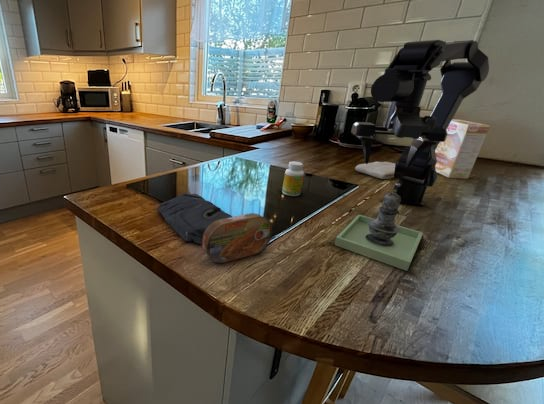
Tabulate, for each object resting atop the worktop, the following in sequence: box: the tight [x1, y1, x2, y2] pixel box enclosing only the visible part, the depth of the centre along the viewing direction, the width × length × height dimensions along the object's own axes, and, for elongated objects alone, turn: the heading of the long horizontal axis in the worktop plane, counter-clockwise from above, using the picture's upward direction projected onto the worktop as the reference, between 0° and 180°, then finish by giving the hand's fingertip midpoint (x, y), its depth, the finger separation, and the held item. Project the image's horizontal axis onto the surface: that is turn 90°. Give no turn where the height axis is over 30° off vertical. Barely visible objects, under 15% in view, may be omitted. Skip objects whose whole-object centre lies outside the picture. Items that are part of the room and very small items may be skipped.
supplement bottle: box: [281, 161, 305, 197], centre depth 91 cm, size 5×5×10 cm
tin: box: [201, 212, 273, 264], centre depth 59 cm, size 15×3×8 cm, turn 114°
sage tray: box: [334, 214, 424, 272], centre depth 65 cm, size 16×13×2 cm
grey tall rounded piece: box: [366, 189, 401, 247], centre depth 63 cm, size 6×6×12 cm
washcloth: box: [354, 161, 396, 180], centre depth 113 cm, size 12×18×3 cm, turn 114°
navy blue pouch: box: [156, 193, 233, 246], centre depth 73 cm, size 15×22×5 cm
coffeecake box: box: [435, 118, 491, 180], centre depth 112 cm, size 15×7×20 cm, turn 172°
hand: (386, 165), depth 76 cm, fingers open, 9 cm apart
